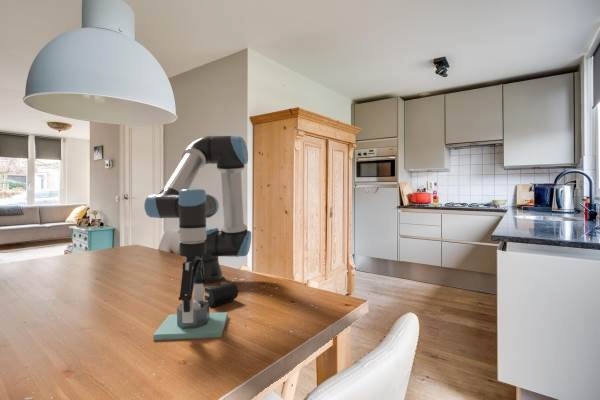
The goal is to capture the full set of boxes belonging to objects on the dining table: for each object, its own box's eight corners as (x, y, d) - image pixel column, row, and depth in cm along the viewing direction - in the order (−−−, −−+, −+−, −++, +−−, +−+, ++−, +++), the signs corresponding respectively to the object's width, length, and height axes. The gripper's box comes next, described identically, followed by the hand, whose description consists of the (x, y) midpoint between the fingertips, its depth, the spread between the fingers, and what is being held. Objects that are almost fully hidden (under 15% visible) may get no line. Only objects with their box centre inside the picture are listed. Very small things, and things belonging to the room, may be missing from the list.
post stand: (169, 319, 98) (169, 293, 98) (227, 316, 100) (227, 291, 100) (153, 340, 84) (152, 310, 84) (220, 337, 86) (220, 308, 86)
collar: (182, 317, 96) (182, 301, 96) (210, 316, 97) (210, 300, 96) (174, 329, 87) (174, 311, 87) (205, 328, 88) (205, 310, 88)
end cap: (214, 309, 106) (214, 290, 106) (203, 304, 111) (203, 285, 111) (238, 301, 114) (238, 283, 114) (227, 297, 119) (227, 279, 118)
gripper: (190, 235, 103) (191, 298, 104) (165, 250, 79) (166, 332, 79) (213, 234, 104) (214, 297, 105) (196, 249, 79) (197, 331, 80)
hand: (193, 312), depth 92 cm, fingers open, 13 cm apart
